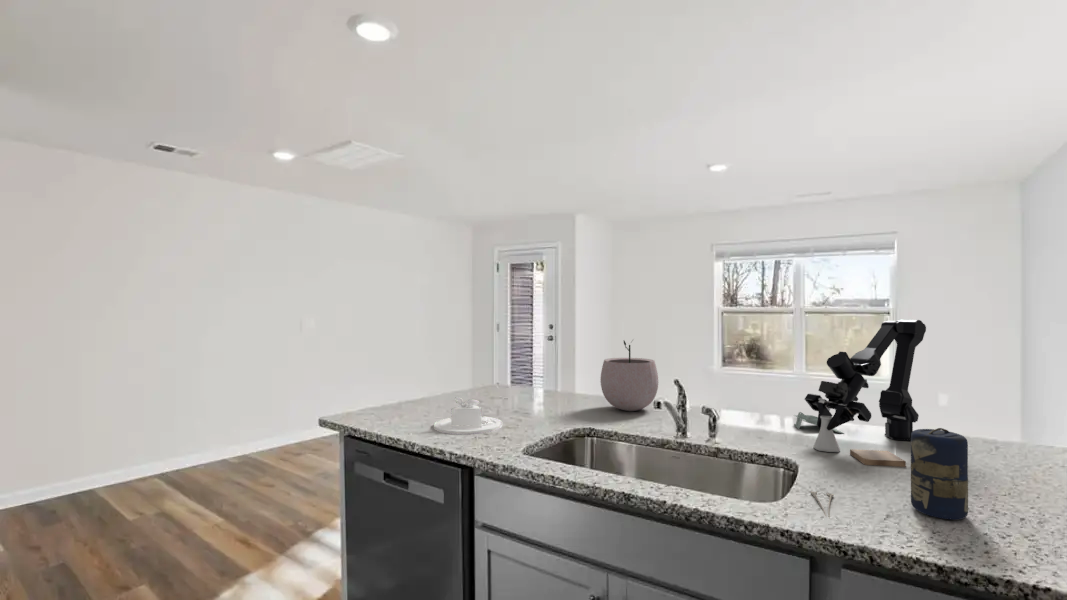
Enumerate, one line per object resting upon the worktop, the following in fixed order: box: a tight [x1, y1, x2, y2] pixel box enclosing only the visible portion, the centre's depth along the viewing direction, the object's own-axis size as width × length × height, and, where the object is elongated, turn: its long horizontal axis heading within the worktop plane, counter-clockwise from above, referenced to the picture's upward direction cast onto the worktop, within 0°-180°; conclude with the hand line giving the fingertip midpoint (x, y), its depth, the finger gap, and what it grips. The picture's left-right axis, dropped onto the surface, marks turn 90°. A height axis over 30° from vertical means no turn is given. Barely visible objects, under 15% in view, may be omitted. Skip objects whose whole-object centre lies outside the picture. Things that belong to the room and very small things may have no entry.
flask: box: [813, 416, 841, 453], centre depth 156 cm, size 7×7×10 cm
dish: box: [433, 396, 503, 435], centre depth 190 cm, size 25×25×11 cm
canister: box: [910, 427, 969, 521], centre depth 109 cm, size 10×10×18 cm
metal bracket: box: [793, 411, 845, 435], centre depth 183 cm, size 14×6×15 cm
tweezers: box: [810, 490, 835, 519], centre depth 112 cm, size 18×5×2 cm, turn 155°
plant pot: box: [600, 339, 659, 412], centre depth 217 cm, size 24×24×30 cm
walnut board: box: [849, 448, 907, 468], centre depth 146 cm, size 10×10×2 cm
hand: (822, 428), depth 156 cm, fingers closed on flask, 3 cm apart
